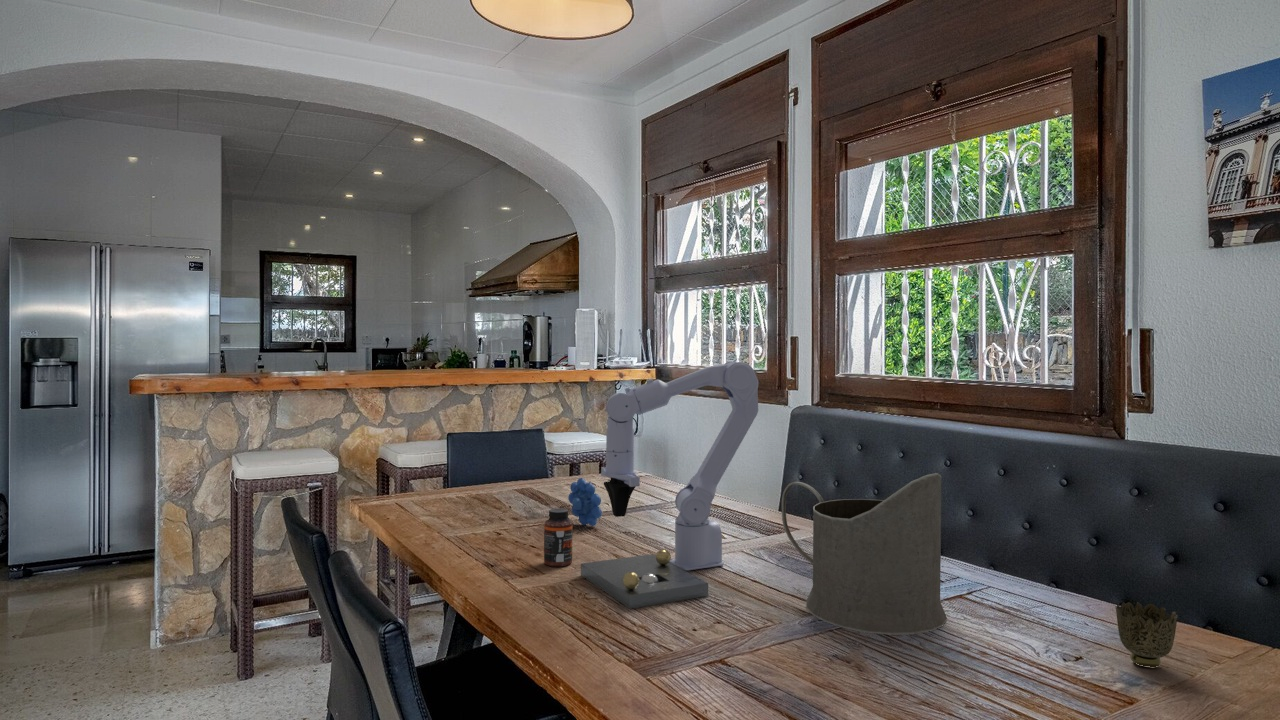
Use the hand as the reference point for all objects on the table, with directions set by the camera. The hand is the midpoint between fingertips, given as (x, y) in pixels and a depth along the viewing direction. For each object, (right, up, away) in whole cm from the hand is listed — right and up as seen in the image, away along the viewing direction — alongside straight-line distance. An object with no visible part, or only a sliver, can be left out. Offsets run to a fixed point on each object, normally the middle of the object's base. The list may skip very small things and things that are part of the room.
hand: (619, 515), depth 159 cm
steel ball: (+6, -9, -17) cm, 20 cm away
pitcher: (+42, -11, -23) cm, 49 cm away
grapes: (-10, -10, +36) cm, 39 cm away
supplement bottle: (-13, -11, +1) cm, 17 cm away
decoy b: (+3, -7, -23) cm, 24 cm away
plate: (+5, -11, -13) cm, 18 cm away
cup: (+77, -12, -49) cm, 92 cm away
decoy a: (+9, -7, -8) cm, 14 cm away
